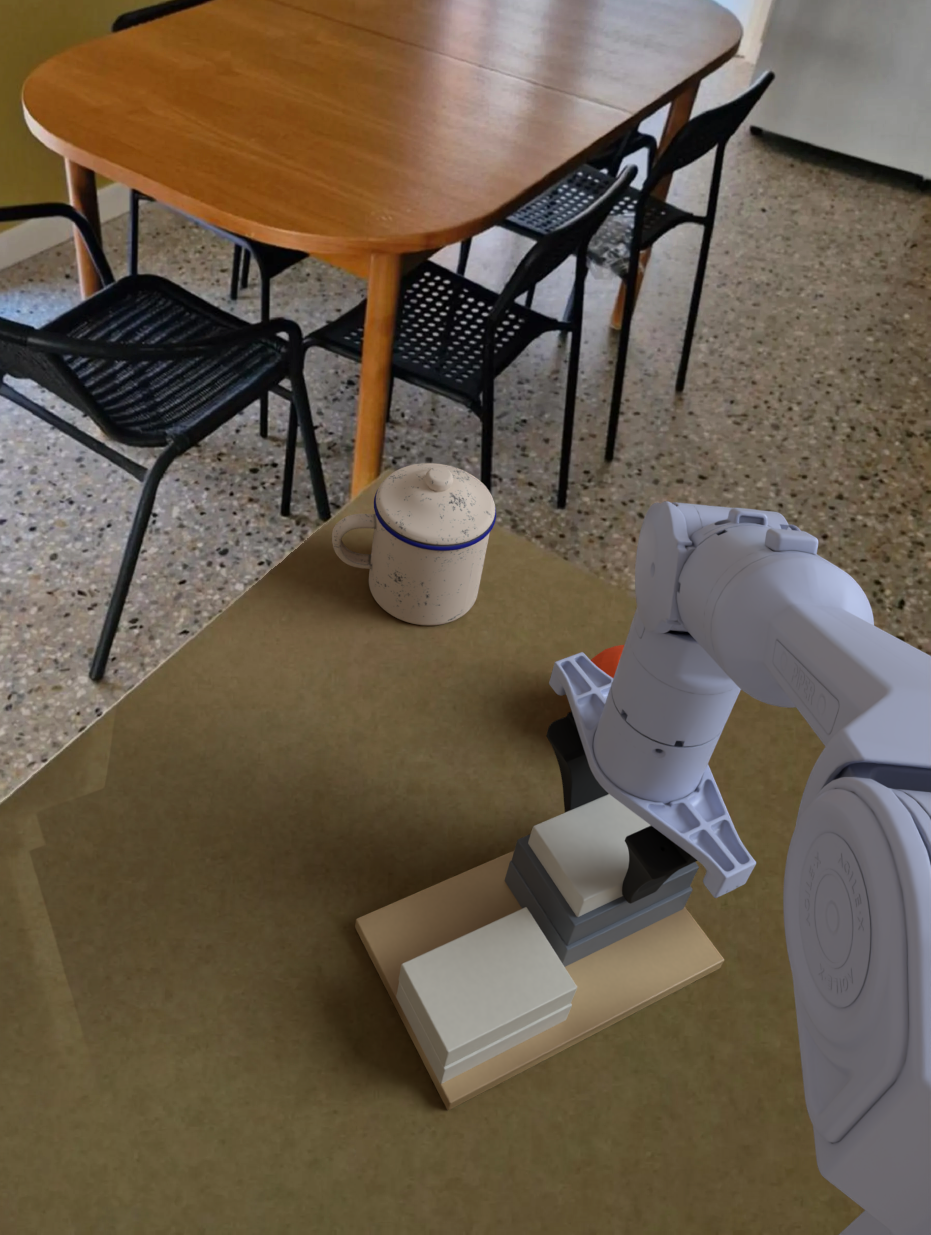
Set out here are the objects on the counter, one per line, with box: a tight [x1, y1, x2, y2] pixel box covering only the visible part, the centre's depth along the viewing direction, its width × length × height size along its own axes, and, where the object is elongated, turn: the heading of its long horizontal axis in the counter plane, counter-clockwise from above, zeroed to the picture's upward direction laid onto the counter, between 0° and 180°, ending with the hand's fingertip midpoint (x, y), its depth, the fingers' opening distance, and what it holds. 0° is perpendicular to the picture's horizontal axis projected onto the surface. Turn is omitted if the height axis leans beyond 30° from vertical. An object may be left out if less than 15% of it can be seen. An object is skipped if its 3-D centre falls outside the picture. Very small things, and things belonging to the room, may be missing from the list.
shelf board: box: [354, 850, 725, 1111], centre depth 65 cm, size 11×18×1 cm, turn 116°
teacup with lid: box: [331, 462, 497, 626], centre depth 84 cm, size 12×9×12 cm
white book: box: [528, 794, 651, 917], centre depth 64 cm, size 5×8×2 cm, turn 116°
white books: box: [396, 907, 577, 1084], centre depth 60 cm, size 5×8×4 cm, turn 116°
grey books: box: [505, 833, 700, 967], centre depth 66 cm, size 6×9×4 cm, turn 116°
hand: (610, 851), depth 64 cm, fingers closed on white book, 5 cm apart
